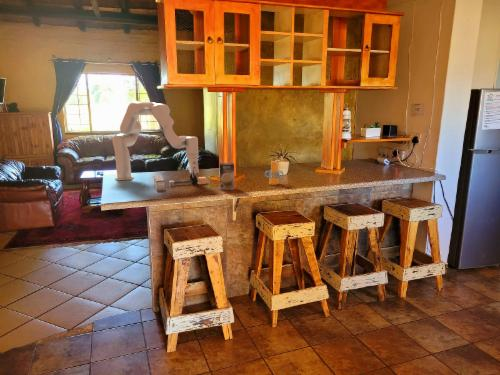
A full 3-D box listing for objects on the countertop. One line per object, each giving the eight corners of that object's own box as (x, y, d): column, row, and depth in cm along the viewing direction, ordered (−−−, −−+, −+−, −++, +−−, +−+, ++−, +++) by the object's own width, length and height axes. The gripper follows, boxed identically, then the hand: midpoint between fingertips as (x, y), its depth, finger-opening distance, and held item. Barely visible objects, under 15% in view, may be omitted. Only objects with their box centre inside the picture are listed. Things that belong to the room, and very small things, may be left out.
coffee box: (219, 190, 226) (218, 164, 222) (220, 187, 232) (219, 162, 228) (234, 190, 226) (234, 164, 222) (234, 187, 232) (234, 162, 229)
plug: (169, 185, 240) (168, 179, 239) (205, 182, 247) (204, 176, 246) (169, 186, 236) (169, 180, 235) (206, 183, 244) (206, 177, 243)
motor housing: (153, 183, 244) (153, 174, 243) (161, 183, 246) (160, 174, 244) (156, 190, 226) (155, 180, 224) (164, 189, 227) (164, 180, 226)
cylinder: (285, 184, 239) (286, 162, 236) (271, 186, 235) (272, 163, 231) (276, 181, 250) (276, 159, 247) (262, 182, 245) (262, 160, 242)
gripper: (201, 157, 232) (202, 184, 236) (195, 153, 248) (196, 179, 252) (189, 158, 229) (190, 185, 233) (184, 154, 245) (185, 180, 249)
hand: (193, 182), depth 243 cm, fingers open, 6 cm apart
